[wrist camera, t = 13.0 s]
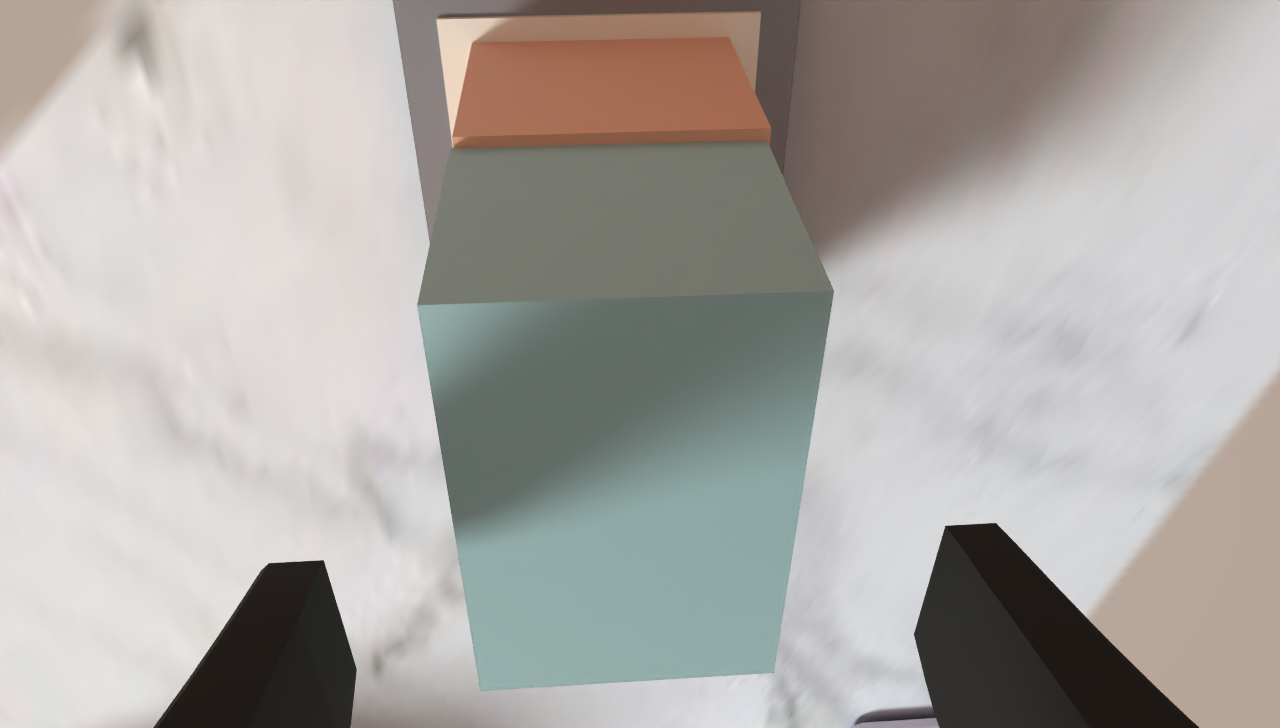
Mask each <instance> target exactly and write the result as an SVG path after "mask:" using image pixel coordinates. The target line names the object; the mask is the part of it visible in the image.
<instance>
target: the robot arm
mask: <svg viewBox="0 0 1280 728" xmlns="http://www.w3.org/2000/svg"><path fill="white" fill-rule="evenodd" d="M914 636H915V640H916V644H917V648H918V652H919V656H920V661H921V665H922V669H923V673H924V677H925V681H926V684H927V688H928V692H929V695H930V699H931V703H932V706H933V710H934V713H935V717H936V718H924V719H910V720H895V721H880V722H866V723H859V724H857V725H855V726H853V727H852V728H1199V727H1198V726H1197V725H1196V724H1195V723H1193V722H1192V721H1191V720H1190V719H1189V718H1188V717H1187V716H1186V715H1185V714H1184V713H1183V712H1182V711H1181V710H1180V709H1179V708H1177V707H1176V706H1175V705H1174V704H1173V703H1172V702H1171V701H1170V700H1169V699H1168V698H1167V697H1166V696H1165V695H1164V694H1163V693H1162V692H1160V690H1159V689H1157V688H1156V687H1155V686H1154V685H1153V684H1152V683H1151V682H1150V681H1149V680H1148V679H1147V678H1146V677H1145V676H1144V675H1143V674H1142V673H1141V672H1140V671H1139V670H1138V669H1137V668H1136V667H1135V666H1134V665H1133V664H1132V663H1131V662H1130V661H1129V660H1128V659H1127V658H1126V657H1125V656H1124V655H1123V654H1122V653H1121V652H1120V651H1119V650H1118V649H1117V648H1116V647H1115V646H1114V645H1113V644H1112V643H1111V642H1110V641H1109V640H1108V639H1107V638H1106V637H1105V636H1104V635H1103V634H1102V633H1101V632H1100V631H1099V630H1098V629H1097V628H1096V627H1095V626H1094V625H1093V624H1092V623H1091V622H1090V621H1089V620H1088V619H1087V618H1086V617H1085V616H1084V615H1083V614H1082V613H1081V611H1080V610H1079V609H1078V608H1077V607H1076V606H1075V605H1074V604H1073V603H1072V602H1071V601H1070V600H1069V599H1068V598H1067V597H1066V596H1065V595H1064V594H1063V593H1062V592H1061V591H1060V590H1059V589H1058V587H1057V586H1056V585H1055V584H1054V583H1053V582H1052V581H1051V580H1050V579H1049V578H1048V577H1047V576H1046V575H1045V574H1044V573H1043V572H1042V571H1041V570H1040V569H1039V567H1038V566H1037V565H1036V564H1035V563H1034V562H1033V561H1032V560H1031V559H1030V558H1029V557H1028V556H1027V555H1026V554H1025V553H1024V552H1023V551H1022V550H1021V548H1020V547H1019V546H1018V545H1017V544H1016V543H1015V542H1014V541H1013V540H1012V539H1011V538H1010V537H1009V536H1008V535H1007V534H1006V533H1005V532H1004V531H1003V530H1002V529H1001V528H1000V527H999V526H998V525H997V524H996V523H989V524H971V525H953V526H945V529H944V533H943V536H942V540H941V543H940V547H939V550H938V553H937V557H936V560H935V564H934V567H933V571H932V574H931V578H930V581H929V584H928V588H927V591H926V595H925V598H924V602H923V605H922V609H921V612H920V616H919V619H918V622H917V626H916V629H915V633H914ZM356 670H357V669H356V666H355V662H354V659H353V656H352V652H351V649H350V646H349V642H348V639H347V636H346V633H345V629H344V626H343V623H342V619H341V616H340V613H339V610H338V606H337V603H336V600H335V596H334V593H333V590H332V586H331V583H330V580H329V577H328V573H327V570H326V567H325V563H324V560H321V561H303V562H285V563H269V564H268V565H267V566H266V567H265V568H263V569H262V570H261V572H260V573H259V575H258V576H257V578H256V579H255V581H254V582H253V584H252V586H251V587H250V589H249V590H248V592H247V593H246V595H245V596H244V598H243V599H242V601H241V602H240V604H239V605H238V607H237V609H236V610H235V612H234V613H233V615H232V616H231V618H230V619H229V621H228V622H227V624H226V625H225V627H224V628H223V630H222V631H221V633H220V634H219V636H218V637H217V639H216V640H215V642H214V643H213V644H212V646H211V647H210V649H209V650H208V652H207V653H206V655H205V656H204V658H203V659H202V660H201V662H200V663H199V665H198V666H197V668H196V669H195V671H194V672H193V674H192V675H191V676H190V678H189V679H188V681H187V682H186V683H185V685H184V686H183V688H182V689H181V690H180V692H179V693H178V694H177V696H176V697H175V699H174V700H173V701H172V703H171V704H170V705H169V707H168V708H167V710H166V711H165V712H164V714H163V715H162V717H161V718H160V719H159V721H158V722H157V723H156V725H155V726H154V728H350V725H351V717H352V708H353V699H354V689H355V680H356Z"/></svg>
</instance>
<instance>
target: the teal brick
mask: <svg viewBox="0 0 1280 728" xmlns="http://www.w3.org/2000/svg"><path fill="white" fill-rule="evenodd" d="M833 293H834V290H833V288H832V285H831V283H830V281H829V279H828V277H827V274H826V272H825V270H824V268H823V265H822V263H821V261H820V259H819V256H818V254H817V252H816V250H815V247H814V245H813V243H812V241H811V238H810V236H809V234H808V232H807V229H806V227H805V225H804V223H803V220H802V218H801V216H800V214H799V211H798V209H797V207H796V205H795V202H794V200H793V198H792V196H791V193H790V191H789V189H788V187H787V184H786V182H785V180H784V178H783V175H782V173H781V171H780V169H779V166H778V164H777V162H776V160H775V157H774V155H773V153H772V151H771V148H770V146H769V144H768V142H767V140H761V141H720V142H678V143H636V144H595V145H553V146H512V147H470V148H450V151H449V156H448V161H447V166H446V170H445V175H444V180H443V185H442V189H441V194H440V199H439V204H438V209H437V213H436V218H435V223H434V228H433V233H432V237H431V242H430V247H429V252H428V257H427V261H426V266H425V271H424V276H423V280H422V285H421V290H420V295H419V300H418V304H417V306H418V313H419V319H420V325H421V331H422V337H423V343H424V349H425V355H426V361H427V367H428V373H429V380H430V386H431V392H432V398H433V404H434V410H435V416H436V422H437V428H438V434H439V441H440V447H441V453H442V459H443V465H444V471H445V477H446V483H447V489H448V495H449V502H450V508H451V514H452V520H453V526H454V532H455V538H456V544H457V550H458V556H459V563H460V569H461V575H462V581H463V587H464V593H465V599H466V605H467V611H468V617H469V623H470V630H471V636H472V642H473V648H474V654H475V660H476V666H477V672H478V678H479V684H480V691H484V690H500V689H517V688H533V687H549V686H565V685H582V684H598V683H614V682H631V681H647V680H663V679H680V678H696V677H712V676H729V675H745V674H761V673H774V667H775V661H776V654H777V648H778V642H779V635H780V629H781V623H782V616H783V610H784V604H785V597H786V591H787V585H788V578H789V572H790V566H791V559H792V553H793V547H794V540H795V534H796V528H797V521H798V515H799V509H800V502H801V496H802V490H803V483H804V477H805V471H806V464H807V458H808V452H809V445H810V439H811V433H812V426H813V420H814V414H815V407H816V401H817V395H818V388H819V382H820V376H821V369H822V363H823V357H824V350H825V344H826V338H827V331H828V325H829V319H830V312H831V306H832V300H833Z"/></svg>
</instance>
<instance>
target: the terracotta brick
mask: <svg viewBox="0 0 1280 728" xmlns="http://www.w3.org/2000/svg"><path fill="white" fill-rule="evenodd" d="M770 136H771V126H770V124H769V122H768V120H767V118H766V116H765V114H764V111H763V109H762V107H761V105H760V103H759V101H758V99H757V96H756V94H755V92H754V90H753V88H752V86H751V84H750V81H749V79H748V77H747V75H746V73H745V71H744V69H743V66H742V64H741V62H740V60H739V58H738V56H737V53H736V51H735V49H734V47H733V45H732V43H731V41H730V38H729V37H716V38H670V39H624V40H578V41H532V42H486V43H472V45H471V49H470V54H469V59H468V64H467V69H466V73H465V78H464V83H463V88H462V92H461V97H460V102H459V107H458V112H457V116H456V121H455V126H454V131H453V135H452V139H453V147H454V148H470V147H512V146H553V145H595V144H636V143H678V142H720V141H761V140H767V142H768V144H769V146H770Z"/></svg>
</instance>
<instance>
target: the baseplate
mask: <svg viewBox="0 0 1280 728" xmlns="http://www.w3.org/2000/svg"><path fill="white" fill-rule="evenodd" d="M800 1H801V0H393V5H394V12H395V18H396V25H397V31H398V38H399V44H400V51H401V57H402V64H403V71H404V77H405V84H406V90H407V97H408V103H409V110H410V116H411V123H412V129H413V136H414V142H415V149H416V155H417V162H418V168H419V175H420V181H421V188H422V194H423V201H424V208H425V214H426V221H427V227H428V234H429V240H430V242H431V237H432V233H433V228H434V223H435V218H436V213H437V209H438V204H439V199H440V194H441V189H442V185H443V180H444V175H445V170H446V166H447V161H448V156H449V151H450V148H454V147H453V139H452V135H453V131H454V126H455V121H456V116H457V112H458V107H459V102H460V97H461V92H462V88H463V83H464V78H465V73H466V69H467V64H468V59H469V54H470V49H471V45H472V43H486V42H532V41H578V40H624V39H670V38H716V37H729V38H730V41H731V43H732V45H733V47H734V49H735V51H736V53H737V56H738V58H739V60H740V62H741V64H742V66H743V69H744V71H745V73H746V75H747V77H748V79H749V81H750V84H751V86H752V88H753V90H754V92H755V94H756V96H757V99H758V101H759V103H760V105H761V107H762V109H763V111H764V114H765V116H766V118H767V120H768V122H769V124H770V126H771V136H770V148H771V151H772V153H773V155H774V157H775V160H776V162H777V164H778V166H779V169H780V171H781V173H782V175H783V166H784V156H785V147H786V137H787V127H788V118H789V108H790V98H791V89H792V79H793V69H794V59H795V50H796V40H797V30H798V21H799V11H800Z"/></svg>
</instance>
